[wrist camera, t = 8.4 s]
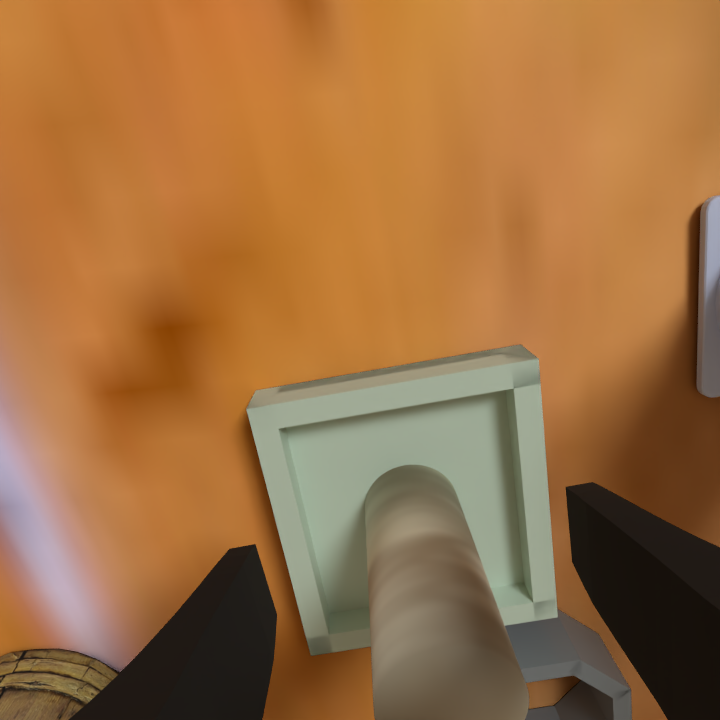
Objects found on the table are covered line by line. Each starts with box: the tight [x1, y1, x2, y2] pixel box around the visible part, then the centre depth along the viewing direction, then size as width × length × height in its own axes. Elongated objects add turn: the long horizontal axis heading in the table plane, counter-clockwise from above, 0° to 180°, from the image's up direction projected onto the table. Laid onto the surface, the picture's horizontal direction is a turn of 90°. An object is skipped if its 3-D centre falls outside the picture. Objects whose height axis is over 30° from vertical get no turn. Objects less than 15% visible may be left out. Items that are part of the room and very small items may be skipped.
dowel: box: [365, 465, 529, 720], centre depth 17 cm, size 4×4×9 cm
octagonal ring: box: [505, 609, 632, 720], centre depth 24 cm, size 7×7×3 cm
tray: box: [246, 345, 558, 656], centre depth 21 cm, size 11×12×2 cm
